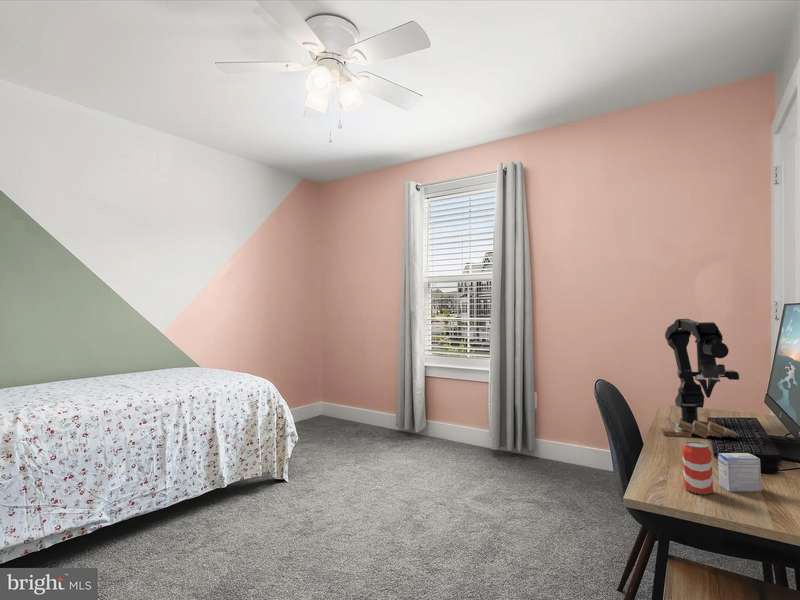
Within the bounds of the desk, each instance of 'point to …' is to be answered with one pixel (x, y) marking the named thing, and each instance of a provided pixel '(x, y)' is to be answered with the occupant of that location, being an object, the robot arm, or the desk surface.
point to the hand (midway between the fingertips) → (708, 397)
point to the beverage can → (697, 467)
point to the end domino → (680, 428)
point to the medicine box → (739, 472)
